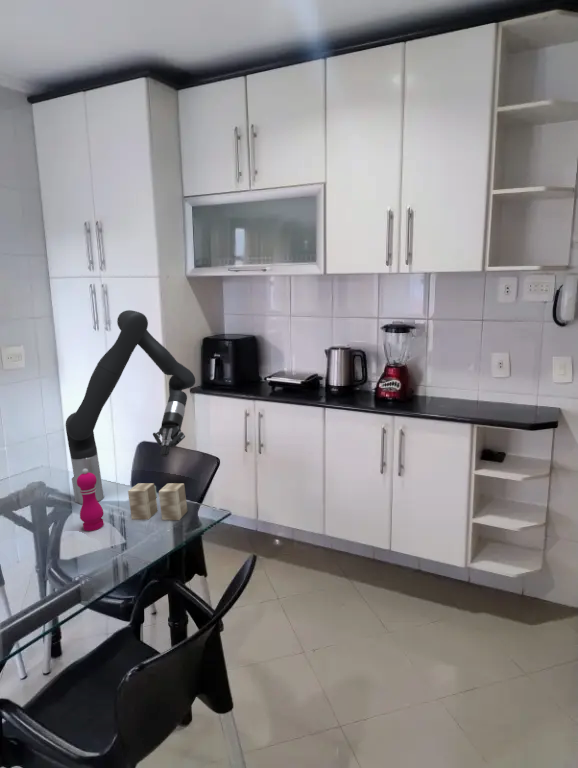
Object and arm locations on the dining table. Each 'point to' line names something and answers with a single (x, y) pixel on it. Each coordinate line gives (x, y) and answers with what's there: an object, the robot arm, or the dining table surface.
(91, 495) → the pepper mill
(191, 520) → the dining table surface
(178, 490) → the post right
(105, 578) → the dining table surface
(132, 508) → the post left
